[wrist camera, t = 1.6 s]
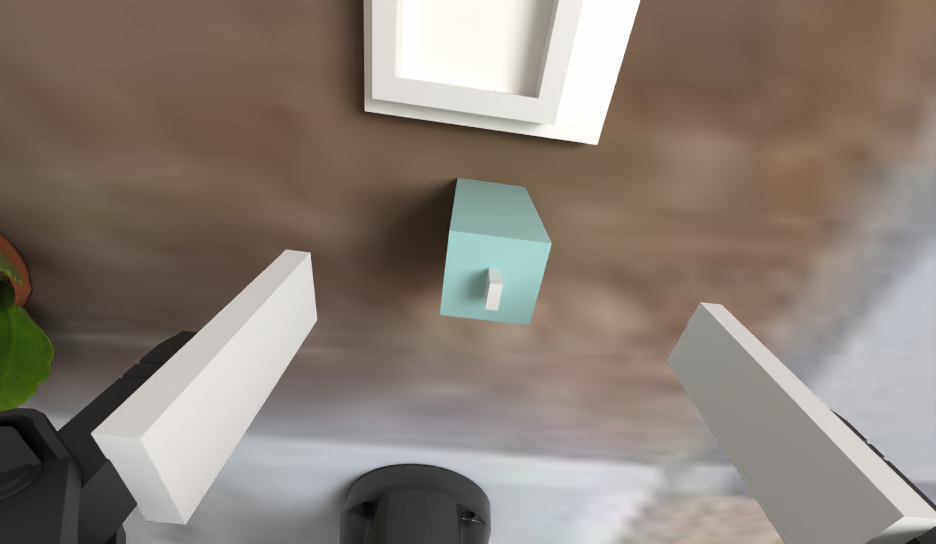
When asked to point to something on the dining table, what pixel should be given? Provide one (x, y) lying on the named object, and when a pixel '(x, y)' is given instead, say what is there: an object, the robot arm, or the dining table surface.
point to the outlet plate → (497, 62)
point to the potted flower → (19, 334)
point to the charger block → (493, 254)
